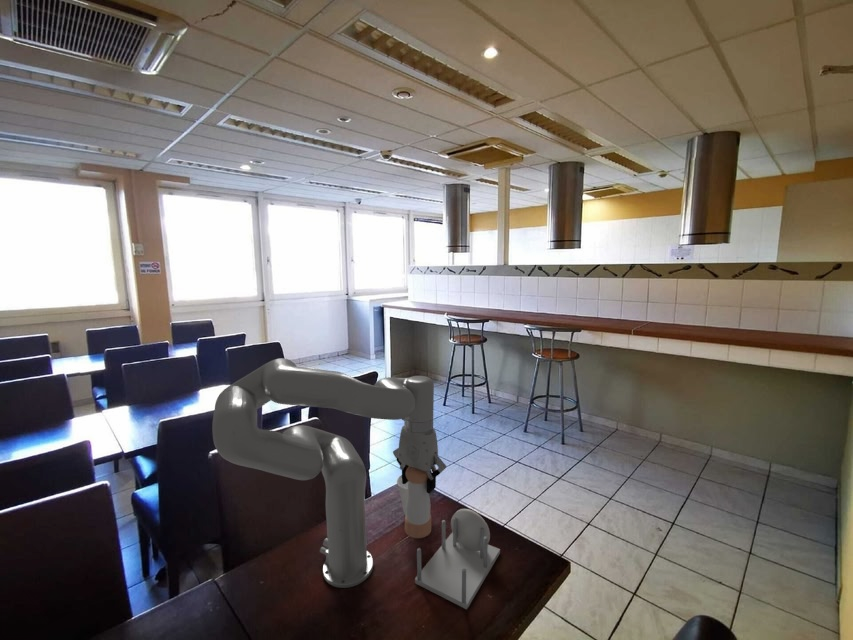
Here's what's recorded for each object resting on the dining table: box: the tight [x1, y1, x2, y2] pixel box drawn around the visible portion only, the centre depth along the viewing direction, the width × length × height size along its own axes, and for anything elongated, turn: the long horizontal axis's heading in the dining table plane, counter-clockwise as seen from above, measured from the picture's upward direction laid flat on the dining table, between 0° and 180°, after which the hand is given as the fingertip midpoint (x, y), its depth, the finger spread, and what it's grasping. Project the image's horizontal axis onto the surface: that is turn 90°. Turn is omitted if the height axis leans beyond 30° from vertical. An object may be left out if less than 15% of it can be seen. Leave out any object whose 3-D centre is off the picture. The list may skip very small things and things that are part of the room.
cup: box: [396, 474, 408, 517], centre depth 122 cm, size 10×10×11 cm
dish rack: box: [414, 508, 501, 610], centre depth 100 cm, size 14×20×12 cm
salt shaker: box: [404, 466, 432, 539], centre depth 107 cm, size 7×7×19 cm
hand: (418, 485), depth 107 cm, fingers closed on salt shaker, 7 cm apart
